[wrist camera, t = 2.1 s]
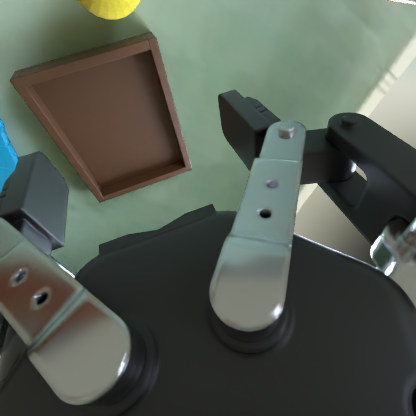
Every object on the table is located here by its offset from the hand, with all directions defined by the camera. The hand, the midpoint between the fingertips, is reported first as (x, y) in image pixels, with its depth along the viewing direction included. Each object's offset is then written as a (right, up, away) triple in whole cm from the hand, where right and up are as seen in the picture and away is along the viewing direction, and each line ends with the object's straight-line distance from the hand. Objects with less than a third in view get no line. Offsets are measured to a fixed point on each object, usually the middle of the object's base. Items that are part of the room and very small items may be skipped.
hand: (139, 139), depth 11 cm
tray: (-7, +7, +18) cm, 20 cm away
